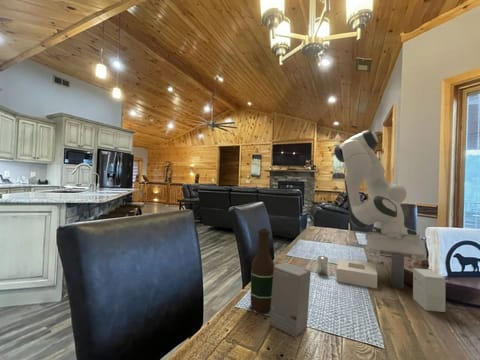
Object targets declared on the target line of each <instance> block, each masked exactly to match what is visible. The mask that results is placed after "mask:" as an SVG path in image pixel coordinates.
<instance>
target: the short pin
mask: <svg viewBox="0 0 480 360" xmlns="http://www.w3.org/2000/svg"><path fill="white" fill-rule="evenodd" d="M328 260H329V258H328V256H325V255H318V256H317V275H320V276H328V266H329V265H328V262H329V261H328Z"/></svg>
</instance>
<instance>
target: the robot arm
mask: <svg viewBox="0 0 480 360" xmlns="http://www.w3.org/2000/svg"><path fill="white" fill-rule="evenodd" d="M377 146H379V139H378V135H377V134H376V133H375V132H373V131H372V130H371V129H367V130H363V131H361V132H360V133H357V134H355V135H353V136H350V137H349V138H348V139H346V140H345V141H342V143H339V144H337V145H336V146H335V147H334V150H333V153H334V156H335V158H336V159H337V160H338V161H339V162H340V163H344V164H345V168H346V169H345V171H346V172H345V179H344V187H345V193H346V200H347V205H348V218H349V221H350V223H351V224H352V225H353V226H354V227H356V228H359V229H366V228H368V227H370V226H372V225H373V226H372V231H369V232H366V233H365V236H364V237H365V240H366V245H365V251H367V252H368V253H370V254H375V256H376V257H377V259H378V263H379V264H383V265H384V264H385V257H382V256H387V257H392V254H393V253H396V254H401V255H404V258H407V259H410V261H409V260H408V262H407V267H408V268H409V269H413V268H414V263H415V262H416V260H421V261H423V260H425V259H426V258H427V255H428V253H427V252H428V251H427V247H426V245H425V242H424V240H423V239H422V238H421V234H420V232H419V231H416V230H414V229H410V228H407V227H406V226H405V216H404V211H403V208H402V206H401V205H402V203H403V202H404V201H405V200H406V199H407V196H408V195H407V190H406V188H405V187H404V186H402V185H400V184H398V183H392V182H390V183H389V182H388V181H387V180H386V177H385V174H386V170H385V168H384V165H382V163H381V160H380V159H379V157H378V156H377V154H376V153H375V152H374V151H375V150H376V148H377ZM364 181H365V183H366V186H367V195H368V197H369V199H368V200H366V201H364V202H362V201H361V197H360V187H361V185H362V184H363V182H364Z"/></svg>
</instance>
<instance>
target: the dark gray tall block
mask: <svg viewBox="0 0 480 360" xmlns="http://www.w3.org/2000/svg"><path fill="white" fill-rule="evenodd" d="M390 262H391V265H390V266H391V270H390V272H391V273H390V275H391V277H390V286H391V288H394V289H397V290H403V289H404V285H405V284H404V283H405V282H404V281H405V277H404V276H405V257H404V255H401V254H396V253H393V254H392V256H391V261H390Z"/></svg>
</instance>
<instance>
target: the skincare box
mask: <svg viewBox="0 0 480 360" xmlns="http://www.w3.org/2000/svg"><path fill="white" fill-rule="evenodd" d="M311 273H312V271H311V270H309V269H307V268H304V267H301V266H299V265H295V264H291V263H289V262H283V263H280V264H277V265H274V270H273V283H272V296H271V309H270V312H269V325H270V326H272V327H274V328H276V329H278V330H279V331H282V332H285V333H286V334H288V335H290V336H292V337H294V338H297V337H298V336H299V335H300V334H301V333H302V332H303V331H305V330H306V329H307V328H308V319H309V318H308V316H309V314H308V313H309V301H310V289H311V288H310V284H311V276H312V275H311Z"/></svg>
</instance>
